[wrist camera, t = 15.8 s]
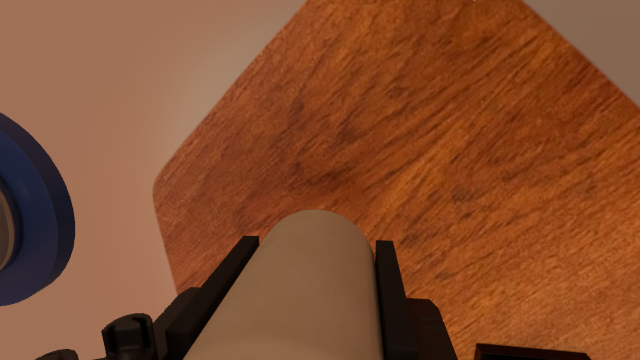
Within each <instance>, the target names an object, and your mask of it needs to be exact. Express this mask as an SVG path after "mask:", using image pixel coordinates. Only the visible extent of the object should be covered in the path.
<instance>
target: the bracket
mask: <svg viewBox="0 0 640 360" xmlns="http://www.w3.org/2000/svg"><path fill="white" fill-rule="evenodd" d="M475 360H591V359H590V357H589V356H588V355H587V354H585V353H575V352H564V351H553V350H542V349H531V348H520V347H509V346H498V345H487V344H477V347H476V353H475Z"/></svg>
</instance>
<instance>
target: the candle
mask: <svg viewBox="0 0 640 360" xmlns="http://www.w3.org/2000/svg"><path fill="white" fill-rule="evenodd" d="M183 360H385V355H384V345H383V335H382V325H381V315H380V305H379V295H378V285H377V275H376V267H375V260H374V255H373V251H372V248H371V246H370V244H369V242H368V240H367V238H366V237H365V235H364V234H363V232H362V231H361V230H360V229H359V228H358V227H357V226H356V225H355V224H354V223H353V222H351V221H350V220H349V219H347V218H345V217H343V216H342V215H339V214H337V213H334V212H330V211H326V210H319V209H311V210H303V211H299V212H296V213H293V214H291V215H289V216H287V217H285V218H284V219H282V220H281V221H280V222H278V223H277V224H276V225H275V226H274V227H273V228H272V229H271V230H270V231H269V233H268V234H267V236H266V237H265V238H264V240H263V241H262V242H261V244H260V245H259V247H258V248H257V250H256V251H255V253H254V254H253V256H252V257H251V259H250V260H249V262H248V263H247V265H246V266H245V268H244V269H243V271H242V272H241V274H240V275H239V277H238V278H237V280H236V281H235V283H234V284H233V286H232V287H231V289H230V290H229V292H228V293H227V295H226V296H225V298H224V299H223V301H222V302H221V304H220V305H219V307H218V308H217V310H216V311H215V313H214V314H213V316H212V317H211V319H210V320H209V322H208V323H207V324H206V326H205V327H204V329H203V330H202V332H201V333H200V335H199V336H198V338H197V339H196V341H195V342H194V344H193V345H192V347H191V348H190V350H189V351H188V353H187V354H186V356H185V357H184V359H183Z"/></svg>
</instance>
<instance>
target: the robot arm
mask: <svg viewBox="0 0 640 360" xmlns="http://www.w3.org/2000/svg"><path fill="white" fill-rule="evenodd" d="M22 240H23V223H22V217H21V213H20V210H19V207H18V204H17V201H16V199H15V197H14V195H13V193H12V191H11V189H10V188H9V186H8V185H7V183H6V182H5V180H4V179H3V178H2V176H1V175H0V272H2V271H3V270H5V269H6V268H8V267H9V266H10V265H11V264H12V263H13V262H14V260H15V259H16V257H17V256H18V254H19V251H20V249H21V245H22ZM258 247H259V236H243V237H242V238H241V239H240V241H239V242H238V243H237V244H236V245H235V247H234V248H233V249H232V250H231V251H230V253H229V254H228V255H227V256H226V257H225V259H224V260H223V261H222V262H221V263H220V265H219V266H218V267H217V268H216V269H215V271H214V272H213V273H212V274H211V276H210V277H209V278H208V279H207V280H206V282H205V283H204V284H203V285H202V286H201V288H198V287H190V288H189V289H187V290H185V291H184V292H182V293H181V294H179V295H178V296H177V297H176V298H175V299H174V301H173V302H172V303H171V305H169V306H168V307H167V308H166V309H165V310H164V313H162V314H161V315H160V316H159V317H158V318H157V319H156V320H155V322H154V323H153V322H152V319H151V317H150V316H149V315H147V314H144V313H135V314H130V315H126V316H123V317H121V318H118V319H116V320H114V321H113V322H111V323H110V324H108V325H107V326H106V327H105V328H104V329H103V330H102V331H101V332H102V337H103V341H104V346H105V350H106V357H105V358H100V359H95V360H183V359H184V357H185V356H186V354H187V353H188V351H189V350H190V348H191V347H192V345H193V344H194V342H195V341H196V339H197V338H198V336H199V335H200V333H201V332H202V330H203V329H204V327H205V326H206V324H207V323H208V322H209V320H210V319H211V317H212V316H213V314H214V313H215V311H216V310H217V308H218V307H219V305H220V304H221V302H222V301H223V299H224V298H225V296H226V295H227V293H228V292H229V290H230V289H231V287H232V286H233V284H234V283H235V281H236V280H237V278H238V277H239V275H240V274H241V272H242V271H243V269H244V268H245V266H246V265H247V263H248V262H249V260H250V259H251V257H252V256H253V254H254V253H255V251H256V250H257V248H258ZM375 267H376V275H377V285H378V295H379V305H380V315H381V325H382V335H383V345H384V355H385V360H458V359H457V356H456V354H455V351H454V348H453V346H452V343H451V340H450V338H449V335H448V332H447V330H446V327H445V324H444V322H443V319H442V316H441V314H440V311H439V309H438V308H437V307H436V306H435V305H434V304H433V303H432V302H431V301H430V300H429V299H413V298H406V295H405V291H404V286H403V282H402V278H401V274H400V269H399V265H398V261H397V257H396V252H395V248H394V244H393V241H383V240H376V256H375ZM35 360H79V359H78V355H77V353H76V352H75V351H74V350H70V349H62V350H57V351H53V352H50V353H47V354H45V355H43V356H41V357H39V358H37V359H35Z"/></svg>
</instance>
